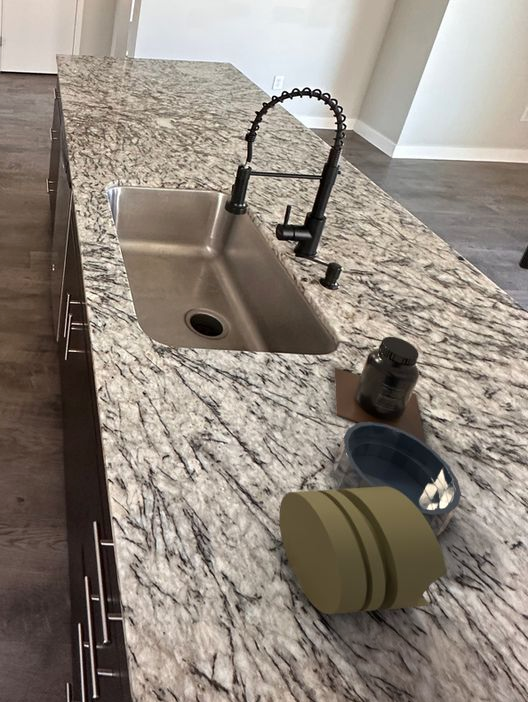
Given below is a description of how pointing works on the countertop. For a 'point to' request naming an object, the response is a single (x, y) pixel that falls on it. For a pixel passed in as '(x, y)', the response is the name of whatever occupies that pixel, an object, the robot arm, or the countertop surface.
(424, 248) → the countertop surface
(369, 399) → the supplement bottle
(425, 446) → the bowl
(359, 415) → the walnut board
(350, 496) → the piston
